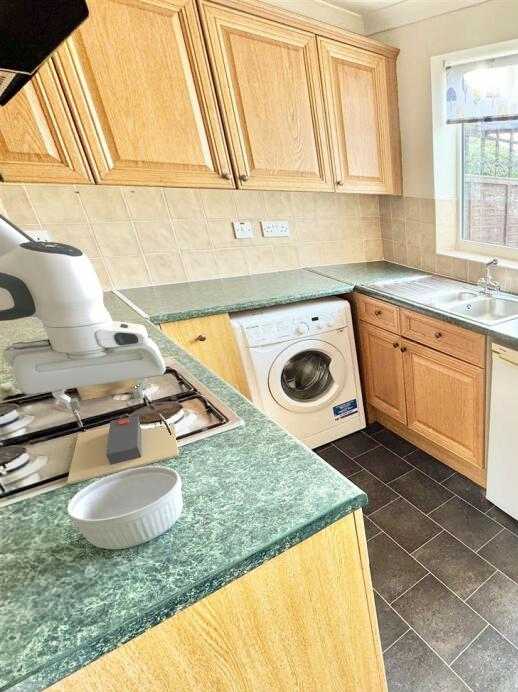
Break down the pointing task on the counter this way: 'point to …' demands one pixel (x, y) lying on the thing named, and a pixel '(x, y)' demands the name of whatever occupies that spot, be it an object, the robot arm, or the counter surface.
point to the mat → (95, 462)
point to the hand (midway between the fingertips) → (108, 403)
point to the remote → (124, 440)
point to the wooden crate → (107, 389)
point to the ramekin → (128, 507)
